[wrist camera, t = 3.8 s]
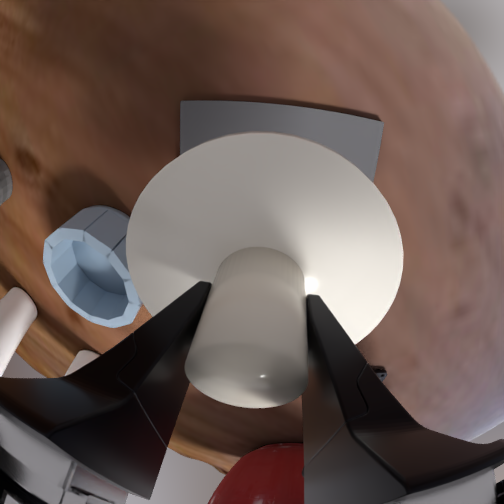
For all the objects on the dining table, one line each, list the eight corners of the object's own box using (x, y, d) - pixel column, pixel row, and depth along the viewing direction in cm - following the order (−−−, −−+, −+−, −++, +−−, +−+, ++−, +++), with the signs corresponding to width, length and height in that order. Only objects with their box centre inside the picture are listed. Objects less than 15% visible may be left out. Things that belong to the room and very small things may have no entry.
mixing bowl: (208, 457, 50) (195, 515, 37) (229, 413, 34) (209, 513, 21) (326, 471, 50) (324, 525, 37) (398, 429, 35) (406, 509, 22)
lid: (427, 158, 8) (518, 224, 4) (353, 362, 13) (363, 446, 9) (121, 130, 8) (17, 175, 4) (156, 339, 14) (123, 415, 10)
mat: (381, 121, 14) (383, 122, 14) (344, 283, 21) (344, 286, 20) (182, 100, 15) (180, 101, 15) (187, 265, 21) (185, 268, 21)
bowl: (151, 207, 19) (125, 234, 16) (164, 304, 24) (148, 336, 21) (61, 202, 20) (31, 224, 16) (84, 287, 25) (63, 313, 21)
